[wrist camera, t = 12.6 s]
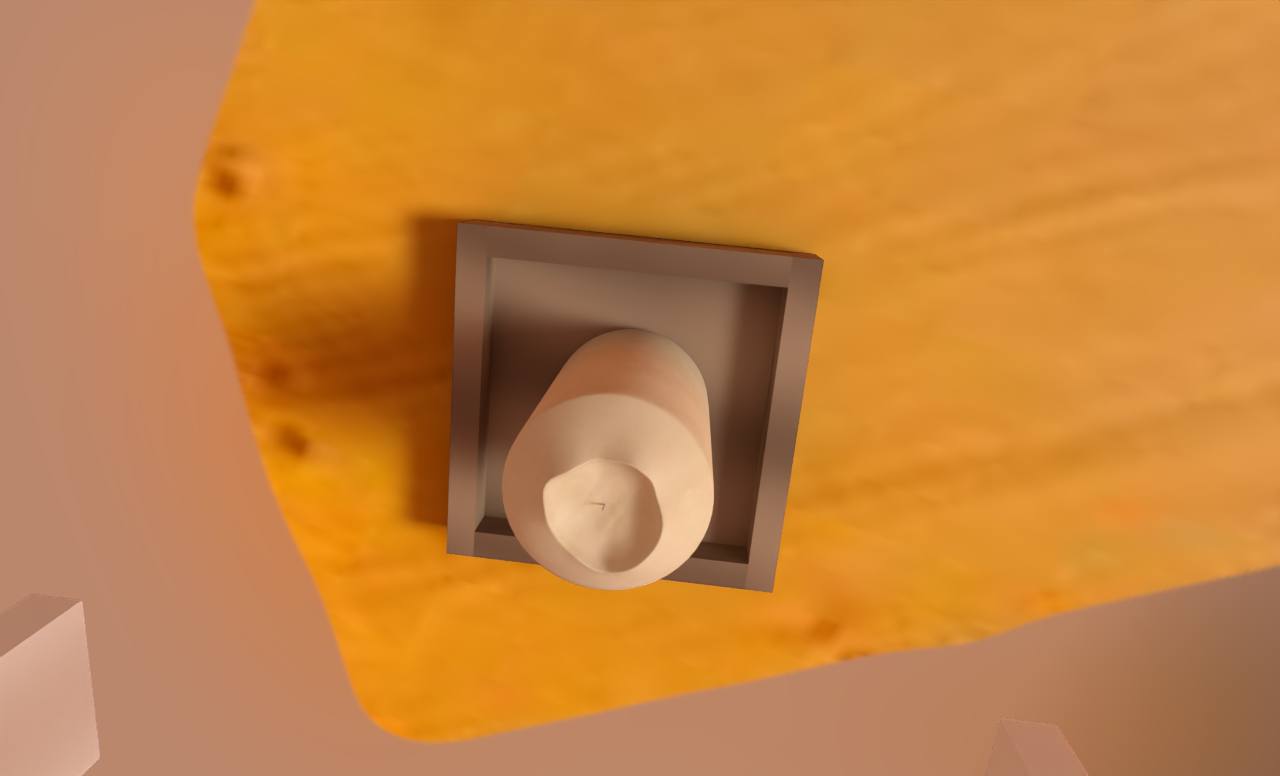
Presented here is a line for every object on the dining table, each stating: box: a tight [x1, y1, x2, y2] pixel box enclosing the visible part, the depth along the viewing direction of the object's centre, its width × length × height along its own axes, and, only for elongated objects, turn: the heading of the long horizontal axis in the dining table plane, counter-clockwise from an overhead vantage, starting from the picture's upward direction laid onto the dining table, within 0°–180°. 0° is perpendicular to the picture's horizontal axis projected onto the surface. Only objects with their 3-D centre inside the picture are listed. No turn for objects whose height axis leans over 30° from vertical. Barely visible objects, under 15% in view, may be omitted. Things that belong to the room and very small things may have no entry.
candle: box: [502, 329, 714, 590], centre depth 24 cm, size 6×6×10 cm
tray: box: [447, 220, 824, 593], centre depth 28 cm, size 12×12×2 cm
